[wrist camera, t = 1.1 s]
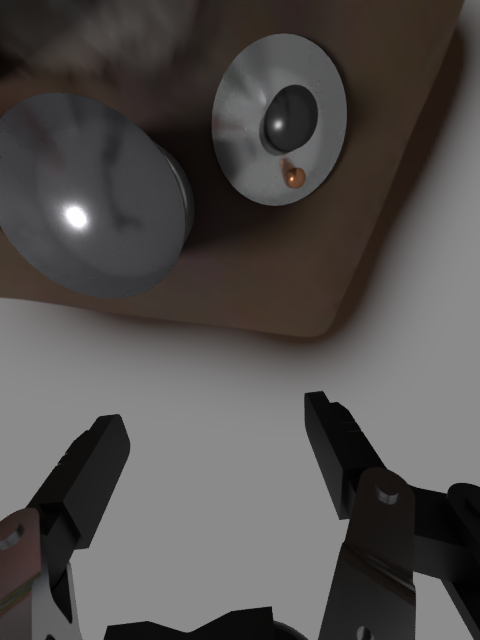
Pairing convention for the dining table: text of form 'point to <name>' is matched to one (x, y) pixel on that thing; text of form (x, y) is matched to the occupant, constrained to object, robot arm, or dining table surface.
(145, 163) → the cooker pot
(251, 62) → the cooker lid
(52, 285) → the dining table surface
